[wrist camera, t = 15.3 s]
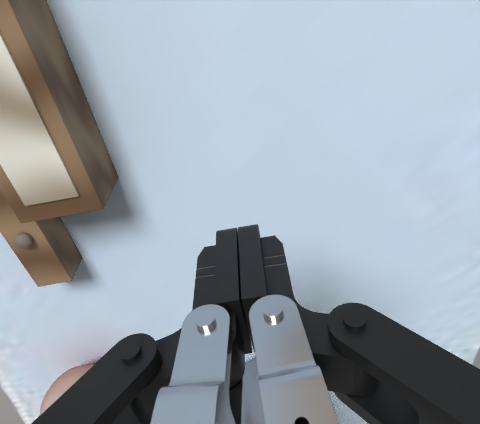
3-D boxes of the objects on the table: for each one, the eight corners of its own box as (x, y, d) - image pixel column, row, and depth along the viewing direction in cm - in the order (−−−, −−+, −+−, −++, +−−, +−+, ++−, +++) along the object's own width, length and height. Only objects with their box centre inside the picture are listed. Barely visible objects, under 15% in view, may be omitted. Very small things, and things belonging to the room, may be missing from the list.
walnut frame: (118, 175, 30) (102, 210, 26) (47, 188, 30) (19, 225, 26) (20, -69, 21) (-30, -78, 17) (-79, -47, 22) (-152, -50, 17)
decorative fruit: (132, 335, 40) (110, 431, 32) (148, 379, 45) (133, 473, 37) (45, 343, 40) (1, 441, 32) (70, 386, 45) (37, 482, 37)
